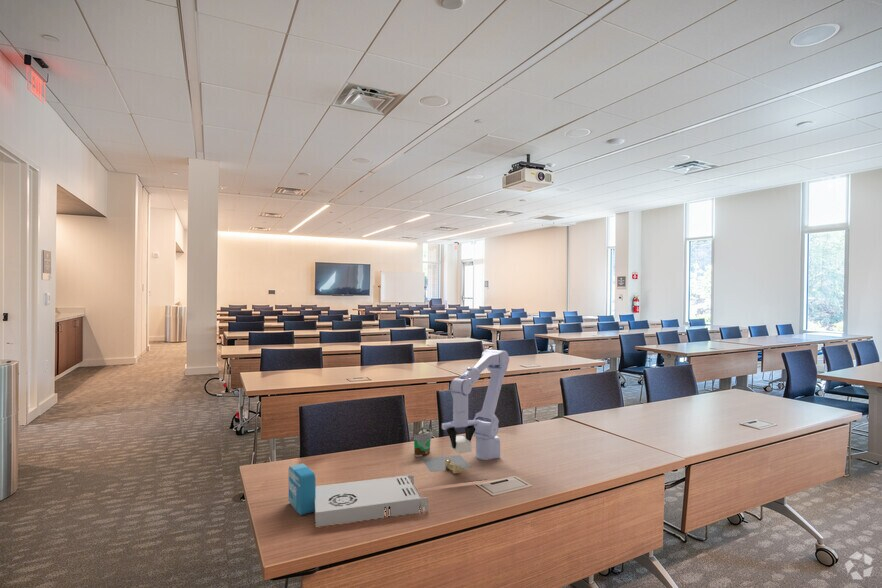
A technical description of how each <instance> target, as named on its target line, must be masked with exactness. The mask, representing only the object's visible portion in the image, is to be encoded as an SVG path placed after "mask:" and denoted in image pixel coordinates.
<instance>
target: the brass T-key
mask: <svg viewBox="0 0 882 588" xmlns="http://www.w3.org/2000/svg"><path fill="white" fill-rule="evenodd" d="M445 468H446V469H450V470H449V471H452V473H453V474H458V473H462V472H463V471H462V469H463V468H462V466H460V465H459V466H457V465H456V464H454V463H452V462H451V460H450V459H446V460H445Z"/></svg>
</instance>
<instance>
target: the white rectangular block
mask: <svg viewBox="0 0 882 588" xmlns="http://www.w3.org/2000/svg"><path fill="white" fill-rule="evenodd" d="M449 446H450V448H452V450H454V451H455V452H456V453H458V454H466V453H472V441H471V442H470V441H469V440H468V439H466V436H463V435H456V448H453V447H452V444H451V440H450V439H449Z"/></svg>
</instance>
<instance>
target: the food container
mask: <svg viewBox="0 0 882 588" xmlns="http://www.w3.org/2000/svg"><path fill="white" fill-rule="evenodd" d="M432 437H433V432H432V429H430V428H429V427H424V426H420V430H418V431H417V432H416V433H415V434H413V444H414V445H413V446H414V447H413V449H414V457H416V458H417V457H426V456H428V455H430V453H431V440H432V439H431V438H432Z"/></svg>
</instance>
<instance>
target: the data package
mask: <svg viewBox="0 0 882 588" xmlns="http://www.w3.org/2000/svg"><path fill="white" fill-rule="evenodd" d="M316 486H317V485H316V474H315V472H314V470H312V469H311V468H310V467H308V466H307V465H306V464H305V463H299V464H294V465H290V466H289V467H288V502H290V503H289V505H290V504H291V505H292V506H293V507H294V508H293V507H292V506H291V505H290V506H291V507H292V508H293V510H295V512H296V513H297V512H298V513H299V514H300V515H299V514H298V513H297V514H298V515H299V516H303V515H307V513H308V514H310V513H315V499H316Z"/></svg>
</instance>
